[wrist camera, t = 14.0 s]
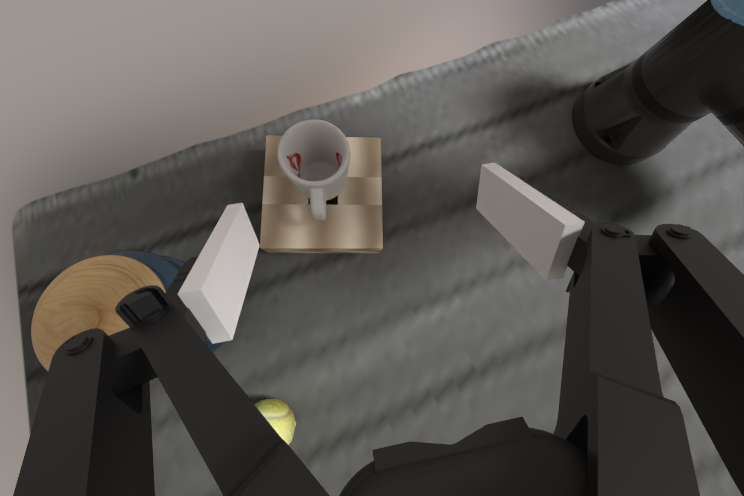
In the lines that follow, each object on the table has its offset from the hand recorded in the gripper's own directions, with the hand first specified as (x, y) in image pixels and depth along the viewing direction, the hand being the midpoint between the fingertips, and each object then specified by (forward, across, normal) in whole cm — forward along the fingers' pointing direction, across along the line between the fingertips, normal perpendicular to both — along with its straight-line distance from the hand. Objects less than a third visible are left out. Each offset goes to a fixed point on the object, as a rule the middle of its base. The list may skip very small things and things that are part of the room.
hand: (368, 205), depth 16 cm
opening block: (+25, -4, -11) cm, 28 cm away
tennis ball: (+5, -15, -31) cm, 35 cm away
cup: (+23, -4, -9) cm, 25 cm away
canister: (+16, -24, -20) cm, 36 cm away
